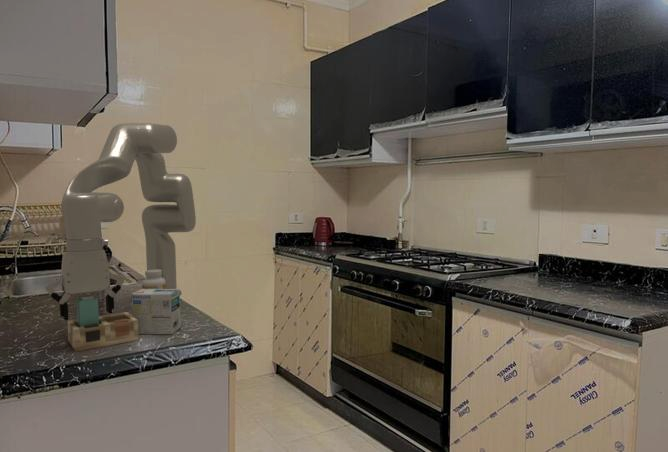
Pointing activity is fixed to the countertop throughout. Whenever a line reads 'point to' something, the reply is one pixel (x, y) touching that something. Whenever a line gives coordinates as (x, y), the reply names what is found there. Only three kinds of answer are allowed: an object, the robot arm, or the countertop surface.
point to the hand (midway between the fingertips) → (88, 315)
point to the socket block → (103, 331)
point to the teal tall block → (87, 310)
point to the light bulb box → (157, 310)
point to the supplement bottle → (154, 280)
